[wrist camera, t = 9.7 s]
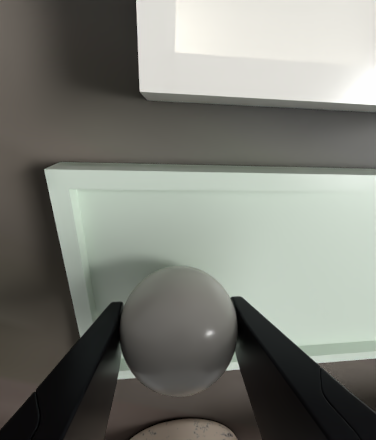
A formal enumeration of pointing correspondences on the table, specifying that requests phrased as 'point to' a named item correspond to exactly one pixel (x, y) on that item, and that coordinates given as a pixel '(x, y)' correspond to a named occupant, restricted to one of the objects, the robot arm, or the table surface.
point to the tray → (228, 242)
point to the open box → (259, 52)
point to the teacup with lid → (186, 431)
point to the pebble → (178, 331)
